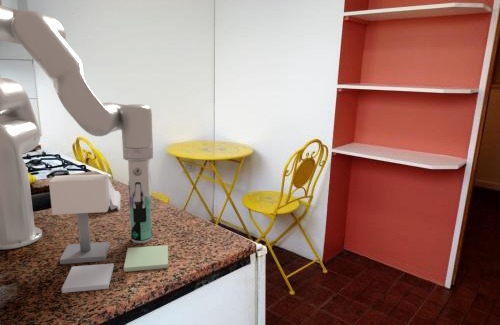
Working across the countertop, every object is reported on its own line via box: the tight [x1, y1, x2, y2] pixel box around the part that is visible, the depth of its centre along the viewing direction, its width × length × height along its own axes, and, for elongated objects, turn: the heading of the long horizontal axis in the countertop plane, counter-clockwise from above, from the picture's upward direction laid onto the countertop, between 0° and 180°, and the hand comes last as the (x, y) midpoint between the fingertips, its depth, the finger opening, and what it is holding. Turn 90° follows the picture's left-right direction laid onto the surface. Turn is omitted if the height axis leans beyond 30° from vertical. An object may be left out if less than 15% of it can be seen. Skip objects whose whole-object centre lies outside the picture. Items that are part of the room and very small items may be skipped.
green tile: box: [123, 244, 169, 273], centre depth 90 cm, size 10×10×1 cm
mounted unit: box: [48, 173, 110, 265], centre depth 89 cm, size 12×8×20 cm, turn 103°
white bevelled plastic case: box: [108, 177, 122, 212], centre depth 126 cm, size 17×5×10 cm, turn 18°
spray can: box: [128, 170, 153, 244], centre depth 99 cm, size 6×6×20 cm
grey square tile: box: [61, 262, 115, 294], centre depth 81 cm, size 9×9×1 cm
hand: (140, 216), depth 100 cm, fingers closed on spray can, 5 cm apart
